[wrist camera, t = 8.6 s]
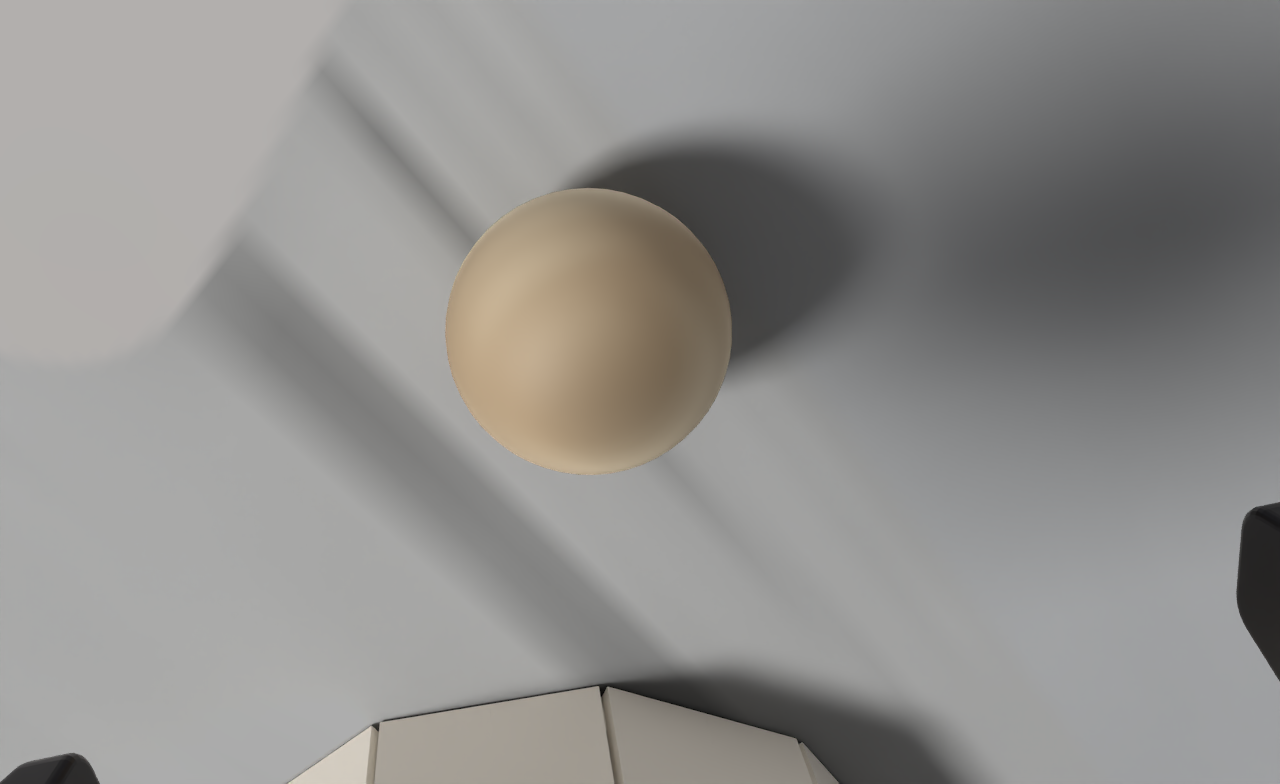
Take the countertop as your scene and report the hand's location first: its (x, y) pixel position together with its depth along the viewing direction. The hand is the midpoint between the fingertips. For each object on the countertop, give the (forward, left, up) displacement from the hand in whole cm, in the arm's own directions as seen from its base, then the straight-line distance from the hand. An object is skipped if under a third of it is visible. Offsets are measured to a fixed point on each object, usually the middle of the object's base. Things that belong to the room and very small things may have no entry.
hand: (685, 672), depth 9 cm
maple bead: (0, 0, -7) cm, 7 cm away
